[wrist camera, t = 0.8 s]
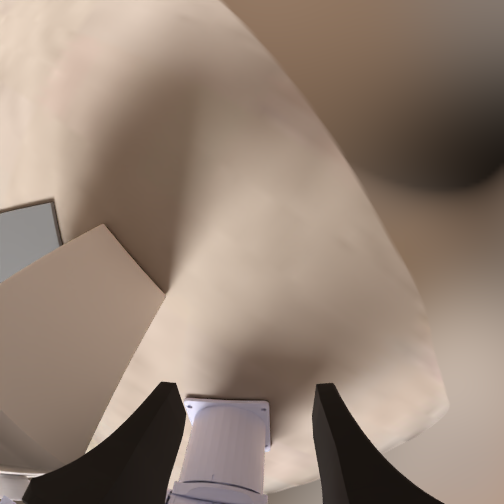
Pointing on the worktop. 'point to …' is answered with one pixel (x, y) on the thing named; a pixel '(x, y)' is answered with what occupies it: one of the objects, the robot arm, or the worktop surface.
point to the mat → (26, 237)
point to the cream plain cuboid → (66, 351)
